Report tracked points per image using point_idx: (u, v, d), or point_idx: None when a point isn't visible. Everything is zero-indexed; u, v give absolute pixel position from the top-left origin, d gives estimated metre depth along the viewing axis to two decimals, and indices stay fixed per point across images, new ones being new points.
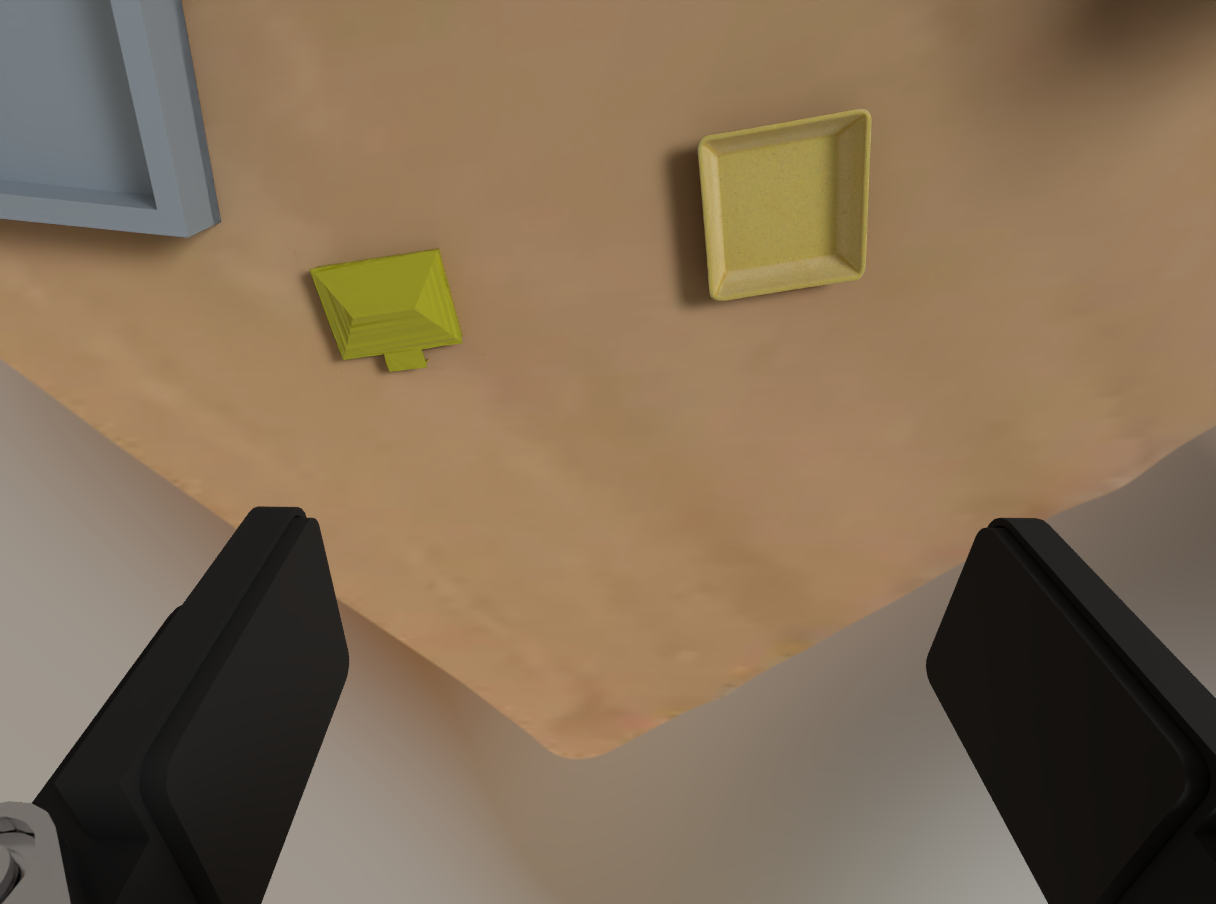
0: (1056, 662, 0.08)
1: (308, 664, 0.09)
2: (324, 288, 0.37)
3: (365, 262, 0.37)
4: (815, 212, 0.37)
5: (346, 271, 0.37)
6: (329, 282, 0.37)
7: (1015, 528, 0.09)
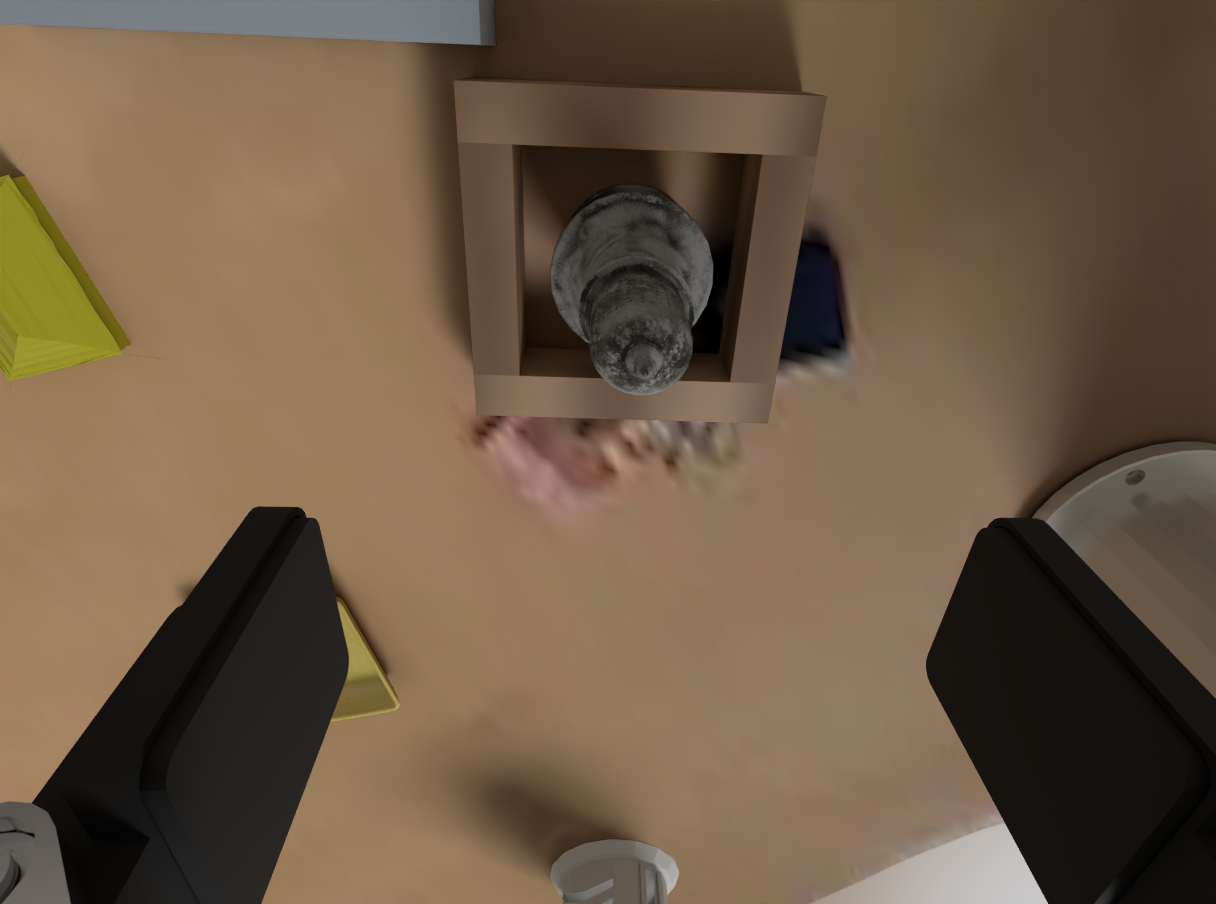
0: (1056, 662, 0.08)
1: (308, 664, 0.09)
2: None
3: (59, 259, 0.26)
4: None
5: (32, 231, 0.26)
6: (1, 206, 0.25)
7: (1015, 528, 0.09)
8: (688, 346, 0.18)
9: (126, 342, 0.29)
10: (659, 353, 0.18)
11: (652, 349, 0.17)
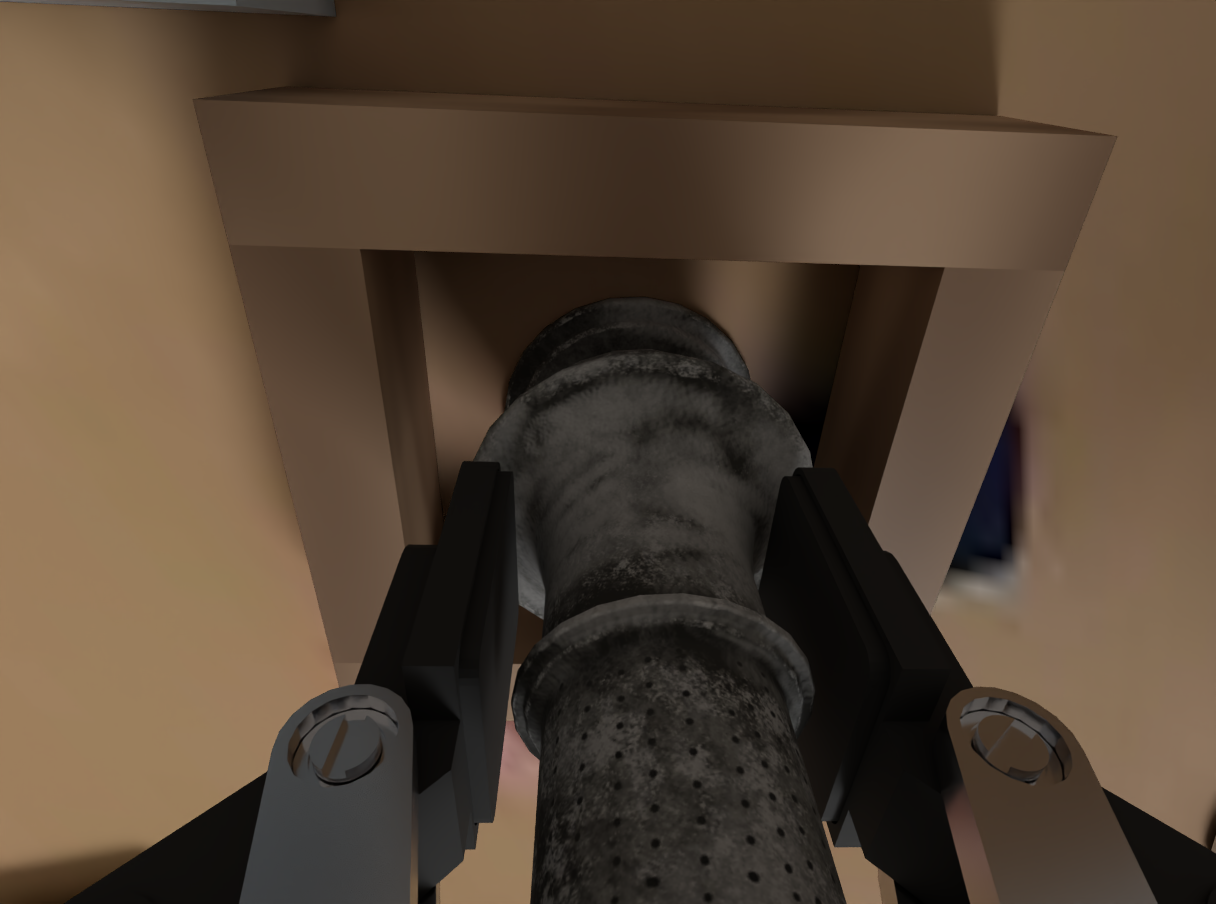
0: (814, 588, 0.09)
1: (509, 601, 0.10)
2: None
3: None
4: None
5: None
6: None
7: (806, 475, 0.10)
8: None
9: None
10: None
11: None
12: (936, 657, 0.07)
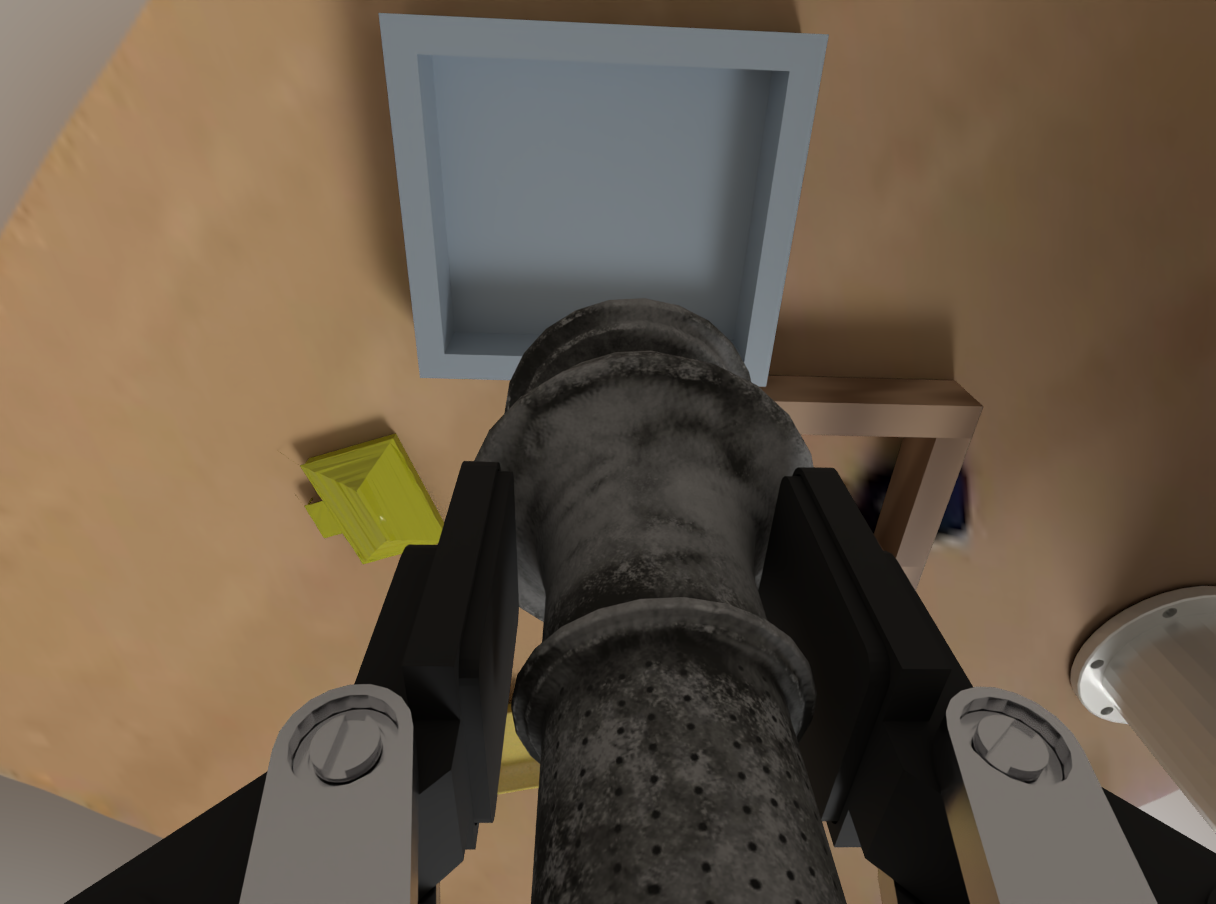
0: (814, 588, 0.09)
1: (509, 600, 0.10)
2: (377, 454, 0.36)
3: (417, 486, 0.37)
4: None
5: (402, 472, 0.36)
6: (385, 459, 0.36)
7: (806, 475, 0.10)
8: None
9: None
10: None
11: None
12: (936, 656, 0.07)
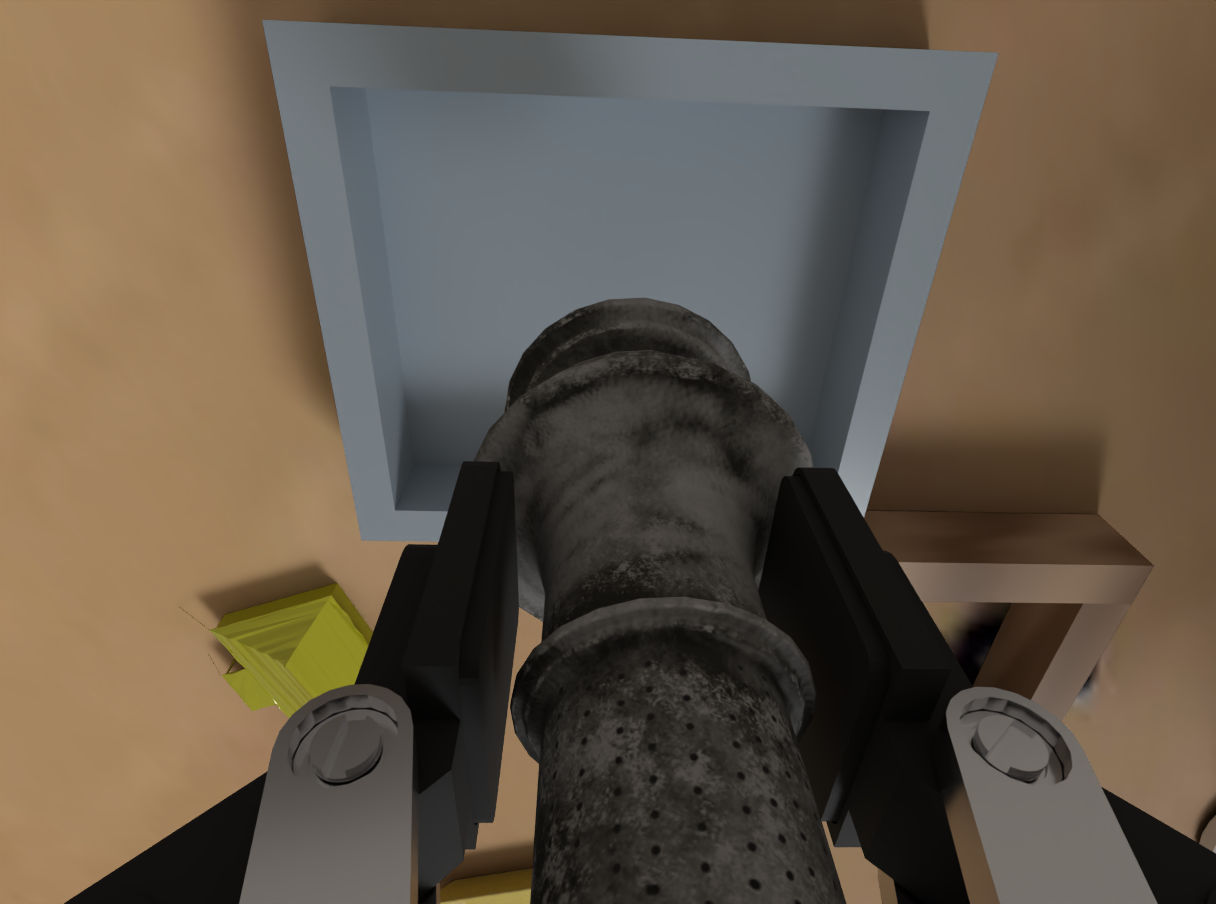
0: (814, 588, 0.09)
1: (509, 601, 0.10)
2: (311, 615, 0.26)
3: None
4: None
5: (347, 634, 0.27)
6: (323, 620, 0.27)
7: (805, 475, 0.10)
8: None
9: None
10: None
11: None
12: (935, 657, 0.07)
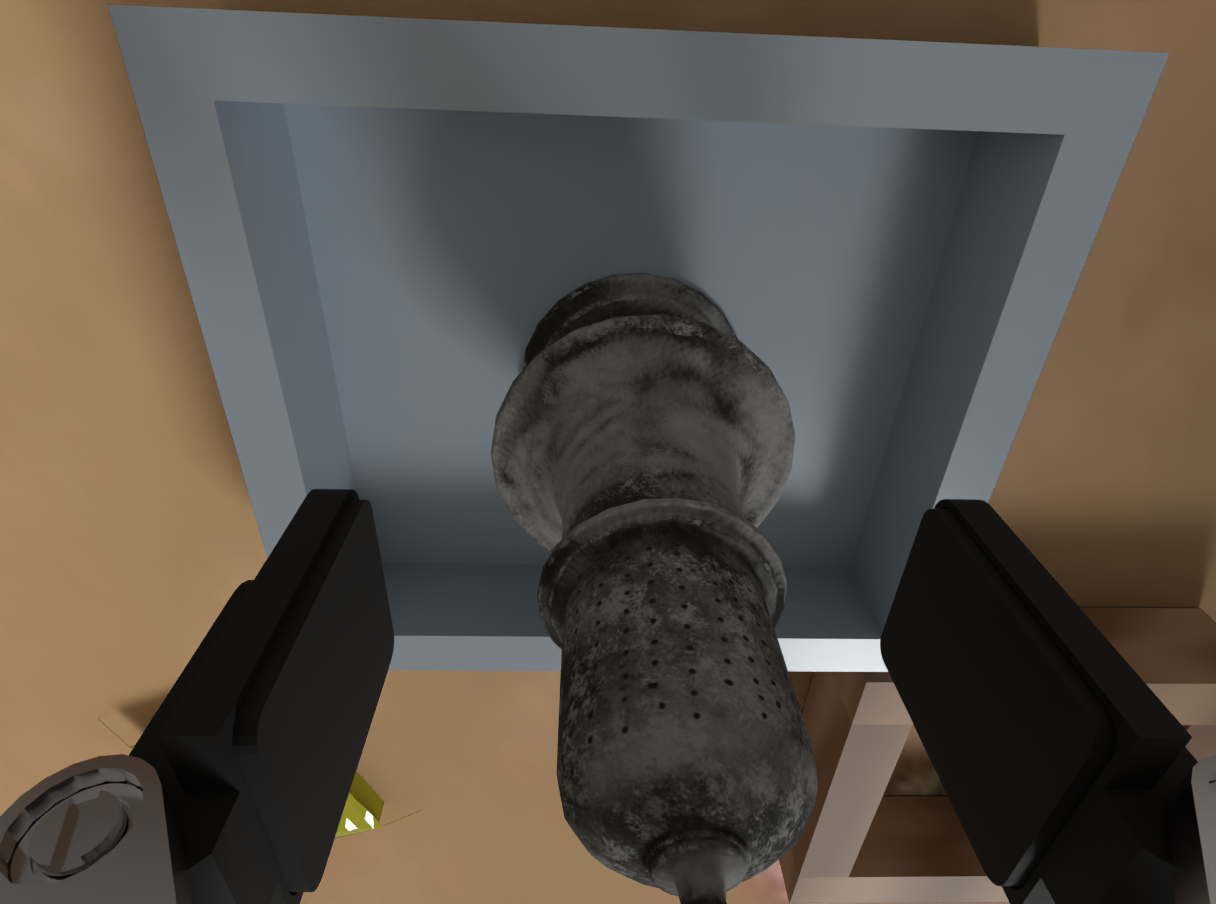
0: (988, 634, 0.08)
1: (363, 640, 0.09)
2: None
3: None
4: None
5: None
6: None
7: (957, 508, 0.09)
8: (811, 801, 0.07)
9: (380, 805, 0.26)
10: (743, 854, 0.07)
11: (727, 855, 0.06)
12: (1169, 722, 0.06)
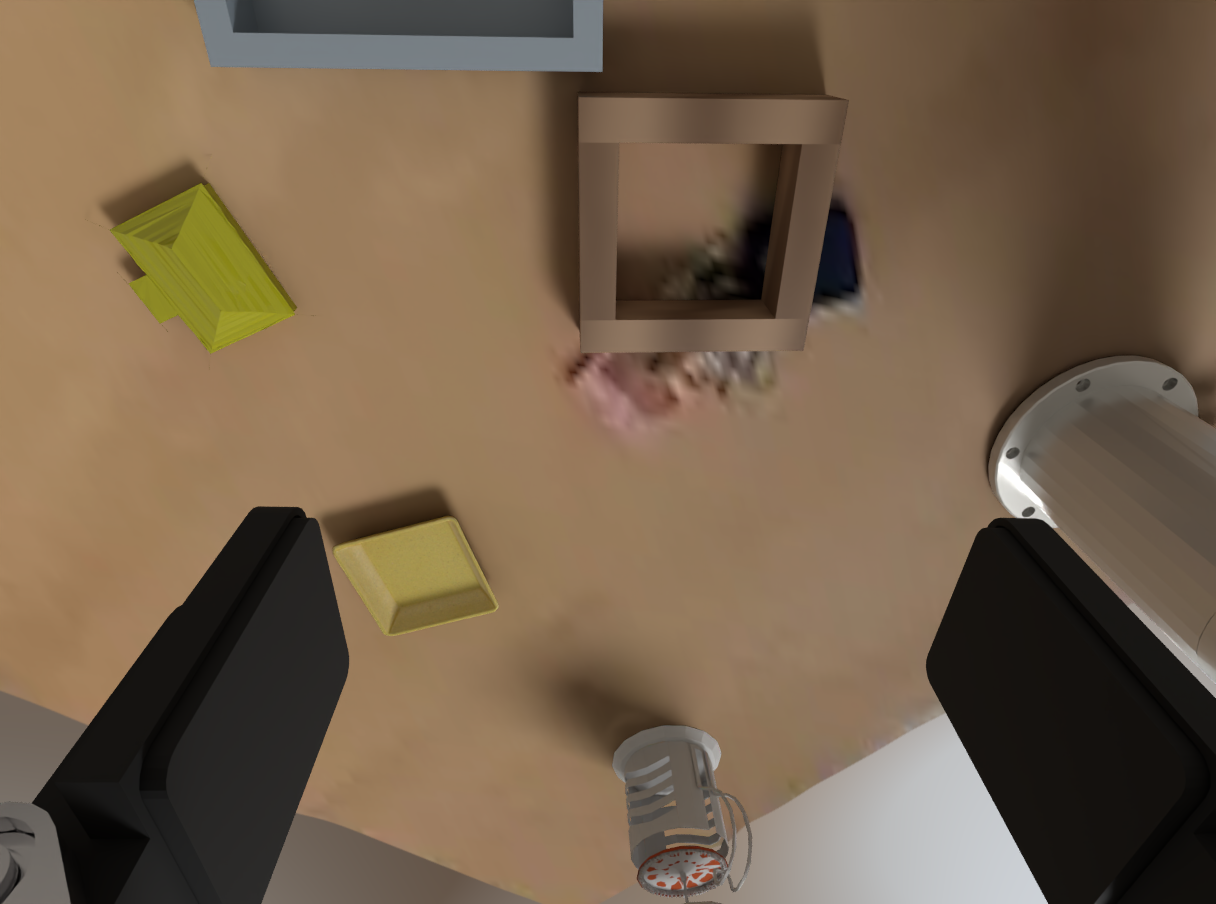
0: (1056, 662, 0.08)
1: (308, 664, 0.09)
2: (187, 204, 0.32)
3: (243, 245, 0.34)
4: (424, 588, 0.48)
5: (221, 226, 0.33)
6: (198, 209, 0.33)
7: (1015, 528, 0.09)
8: None
9: (294, 306, 0.36)
10: None
11: None
12: None
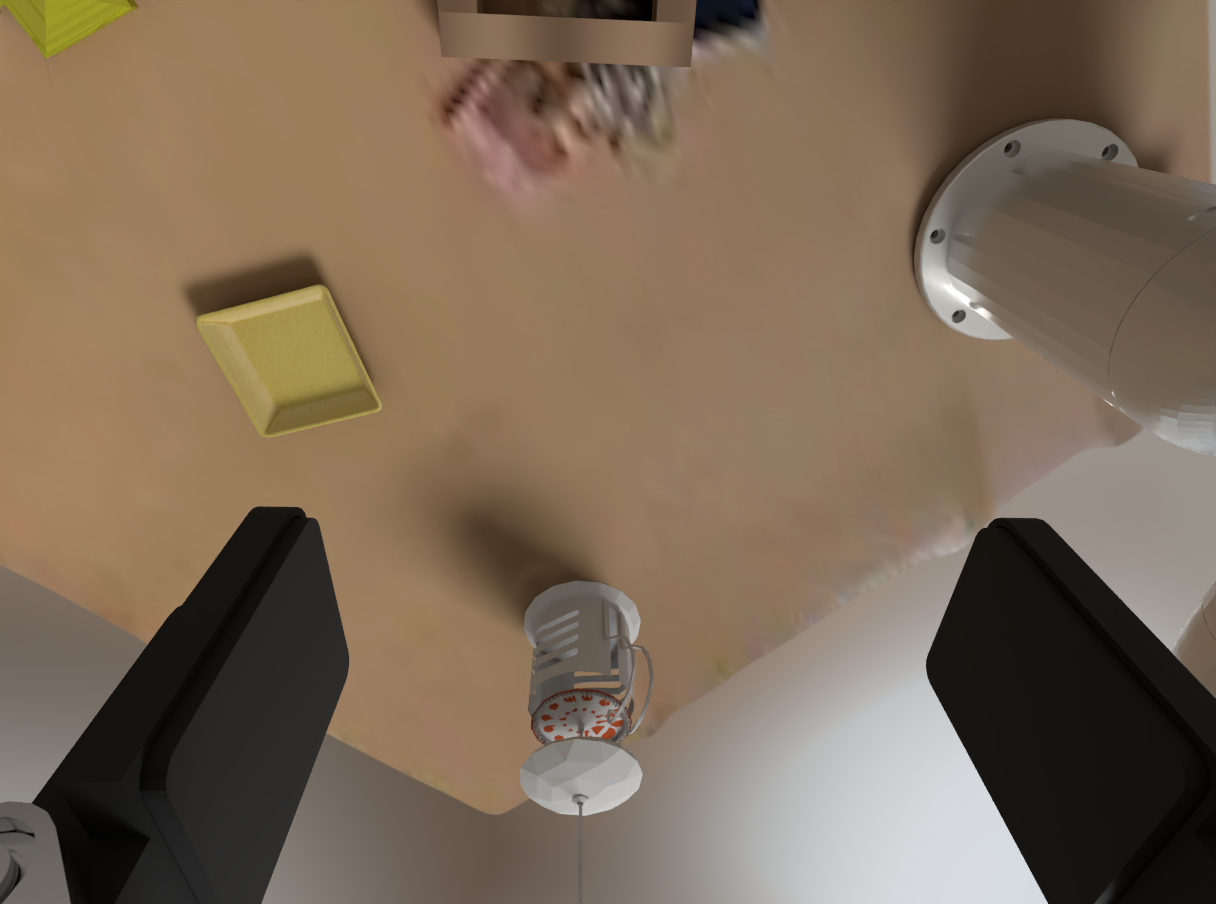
0: (1056, 662, 0.08)
1: (308, 664, 0.09)
2: None
3: None
4: (305, 386, 0.44)
5: None
6: None
7: (1015, 528, 0.09)
8: None
9: (134, 4, 0.33)
10: None
11: None
12: None
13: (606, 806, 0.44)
